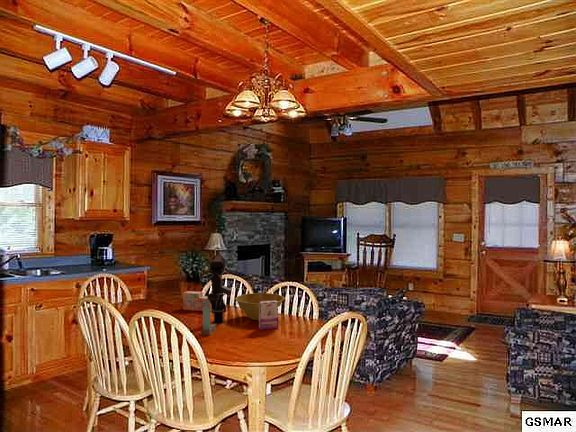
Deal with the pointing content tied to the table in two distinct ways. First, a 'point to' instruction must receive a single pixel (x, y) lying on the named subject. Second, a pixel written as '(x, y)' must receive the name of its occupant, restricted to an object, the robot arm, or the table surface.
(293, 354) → the table surface
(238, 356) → the table surface
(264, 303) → the candy bar box
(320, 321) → the table surface
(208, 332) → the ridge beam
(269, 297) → the planter bowl
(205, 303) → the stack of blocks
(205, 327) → the rod
